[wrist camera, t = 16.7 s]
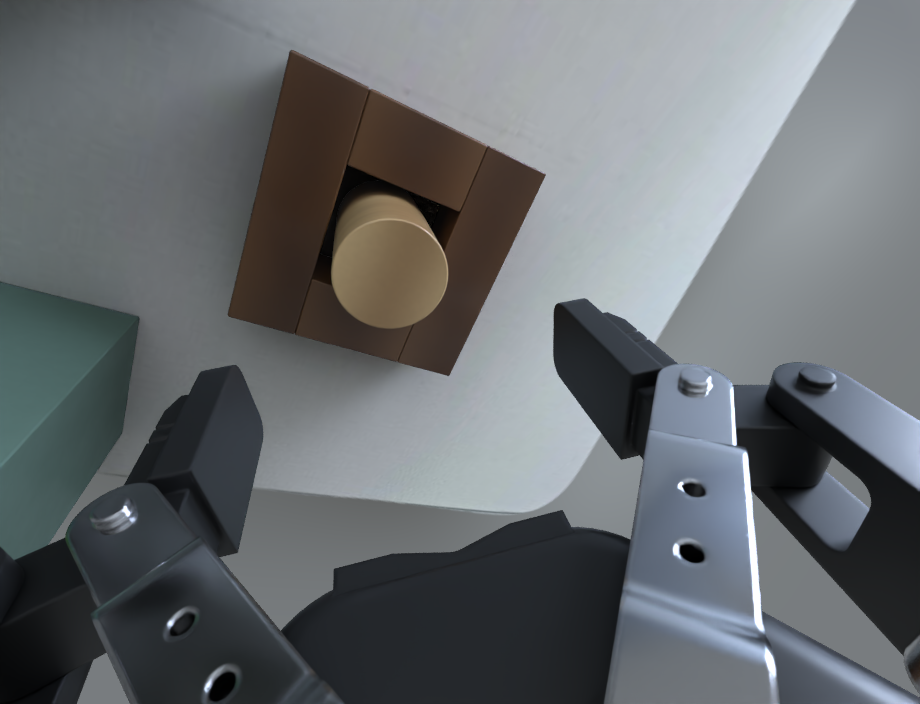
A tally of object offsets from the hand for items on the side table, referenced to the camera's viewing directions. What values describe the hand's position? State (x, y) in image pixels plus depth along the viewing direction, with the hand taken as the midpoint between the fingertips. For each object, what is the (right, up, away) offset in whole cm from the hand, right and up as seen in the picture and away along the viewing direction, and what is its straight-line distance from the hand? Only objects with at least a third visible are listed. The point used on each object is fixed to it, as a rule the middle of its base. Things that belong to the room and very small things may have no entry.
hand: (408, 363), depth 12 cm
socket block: (-3, +7, +12) cm, 14 cm away
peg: (-3, +7, +12) cm, 14 cm away
